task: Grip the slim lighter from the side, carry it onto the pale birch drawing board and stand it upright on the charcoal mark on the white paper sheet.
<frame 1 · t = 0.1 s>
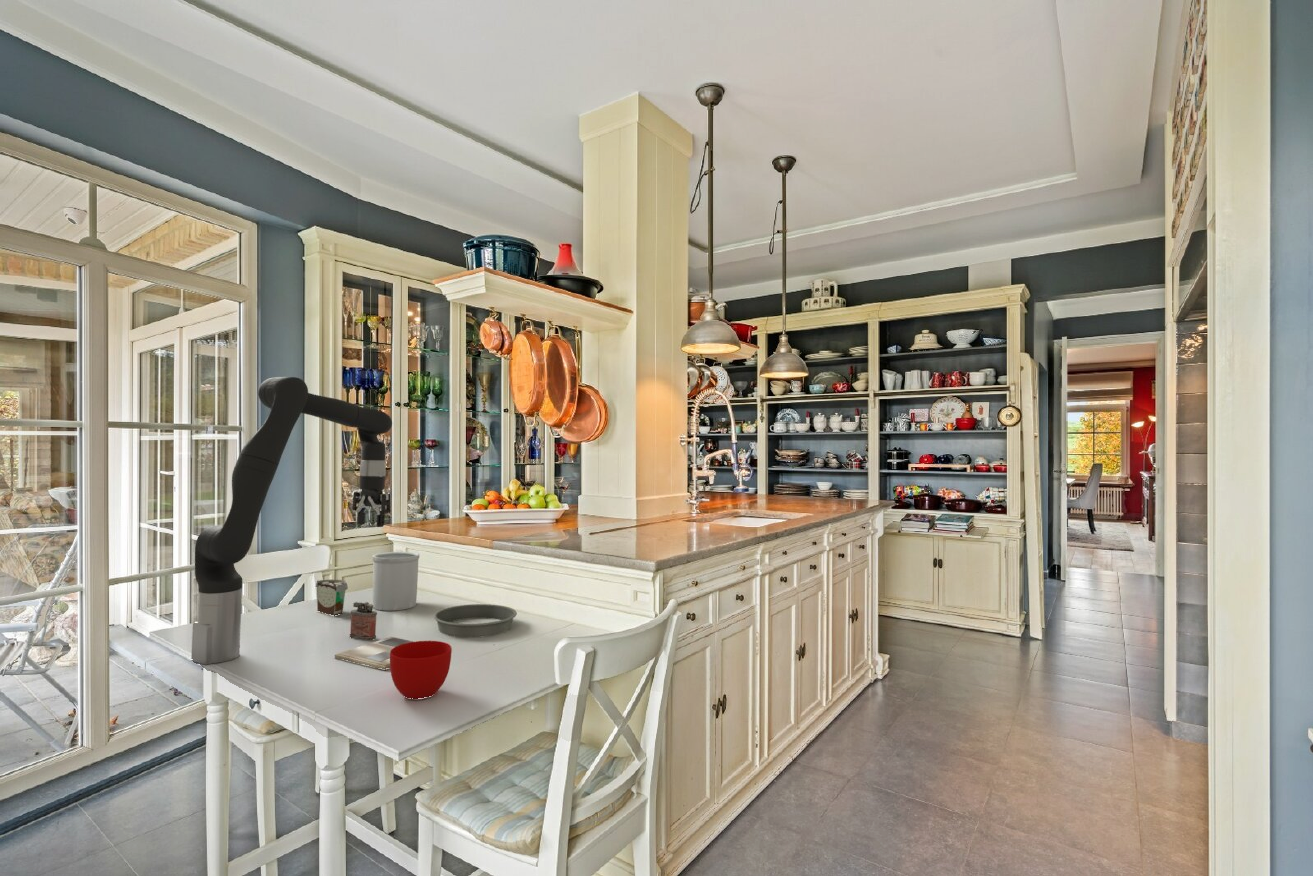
hand: (370, 525, 202), 29 cm above the table, tool pointing down, fingers open, 8 cm apart
drawing board: (388, 654, 168), on the table
food container: (334, 613, 207), on the table
utensil holder: (394, 606, 217), on the table
lighter: (362, 638, 181), on the table
cake pan: (475, 628, 195), on the table
red bowl: (417, 692, 144), on the table
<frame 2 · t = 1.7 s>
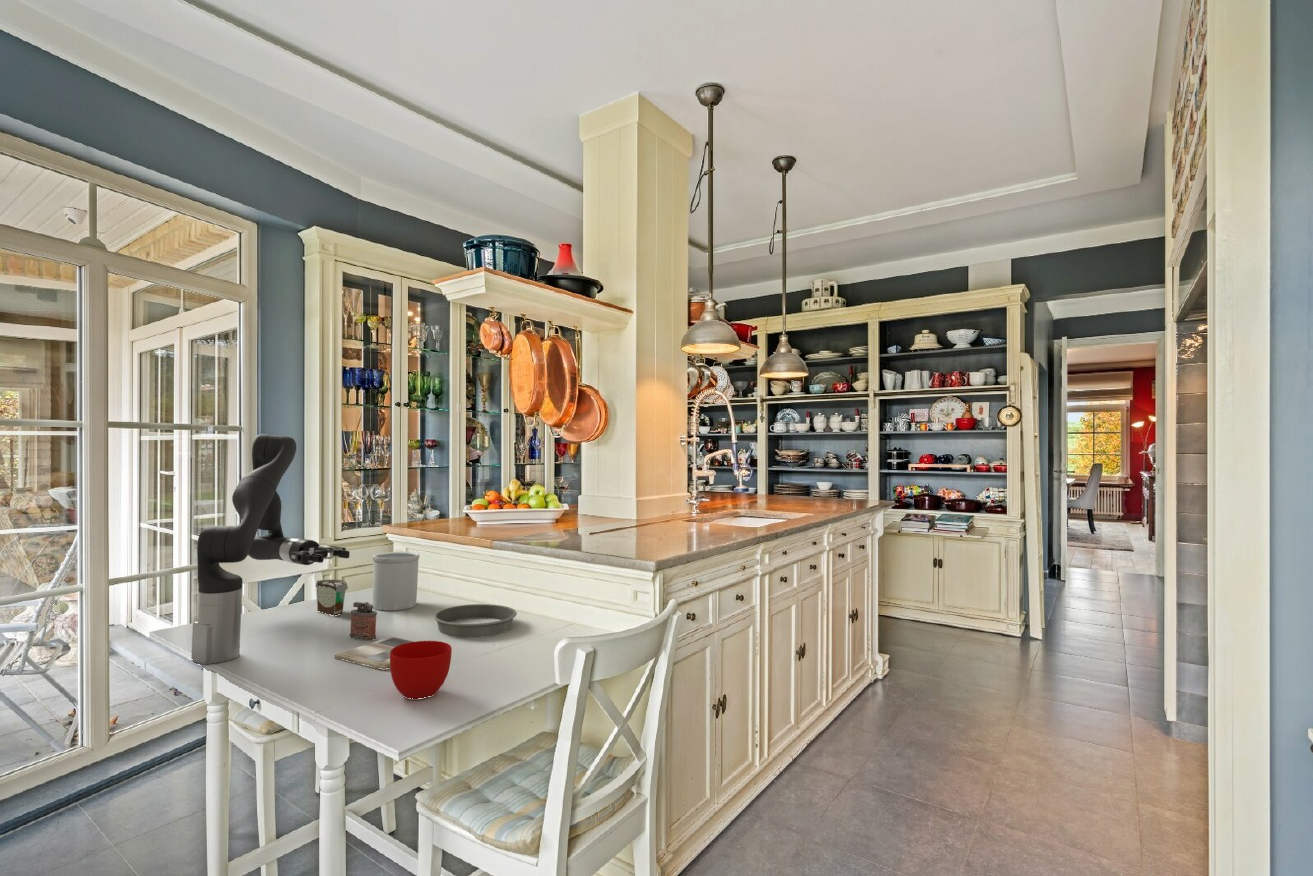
hand: (335, 556, 187), 22 cm above the table, tool horizontal, fingers open, 8 cm apart
nothing on the table moved.
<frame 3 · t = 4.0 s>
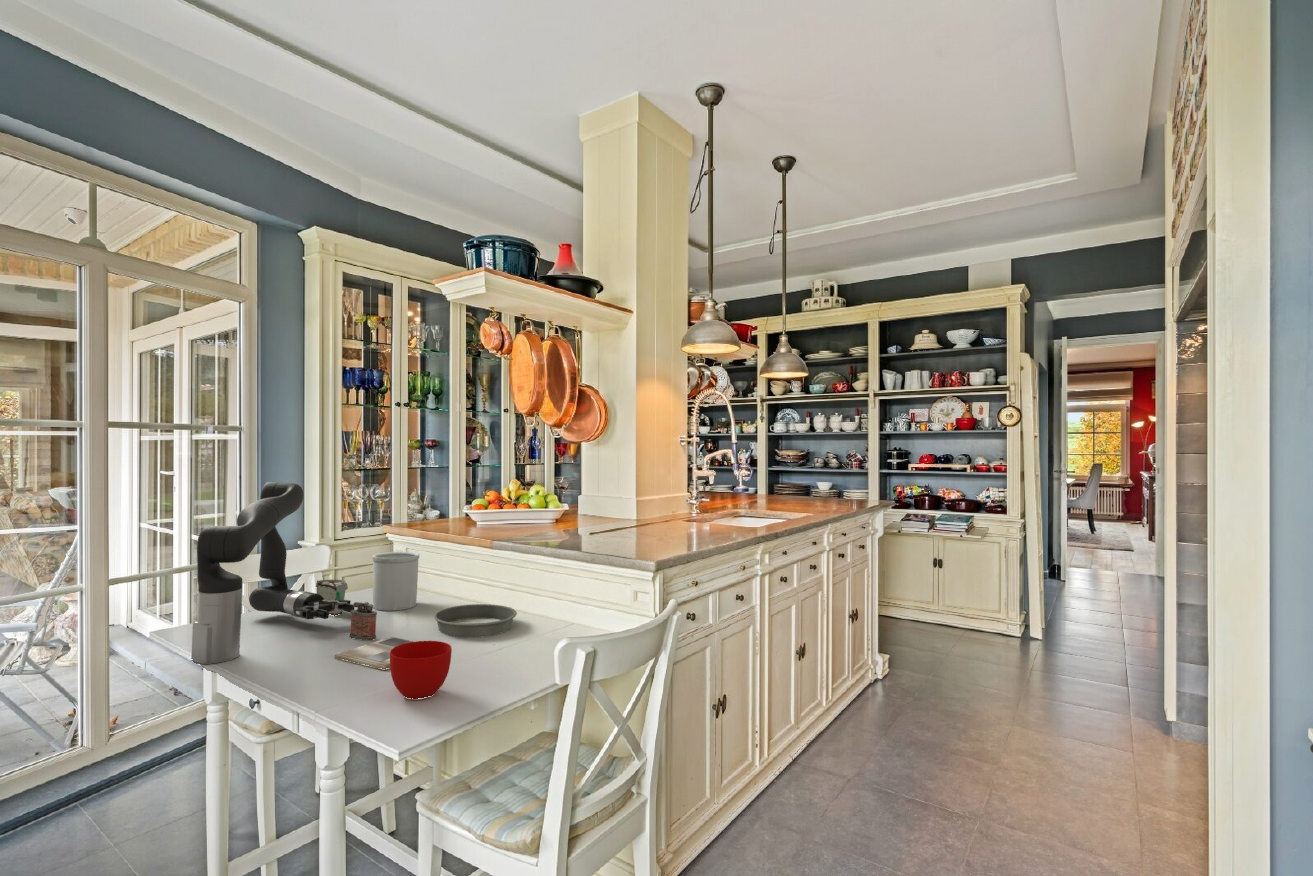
hand: (340, 611, 185), 6 cm above the table, tool horizontal, fingers open, 8 cm apart
nothing on the table moved.
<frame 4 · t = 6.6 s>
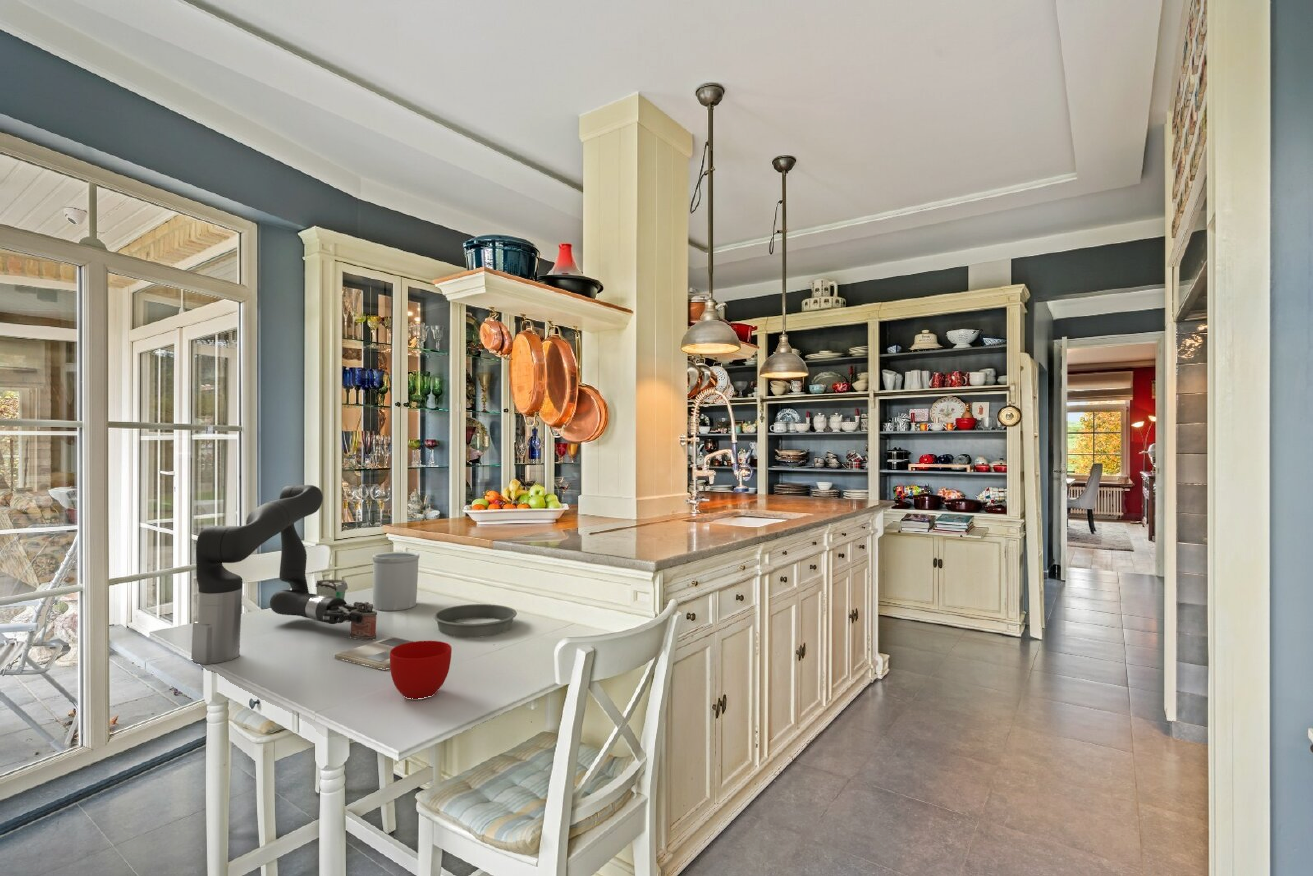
hand: (367, 617, 181), 6 cm above the table, tool horizontal, fingers closed on lighter, 3 cm apart
lighter: (362, 638, 181), on the table, touching gripper
everything else where it was.
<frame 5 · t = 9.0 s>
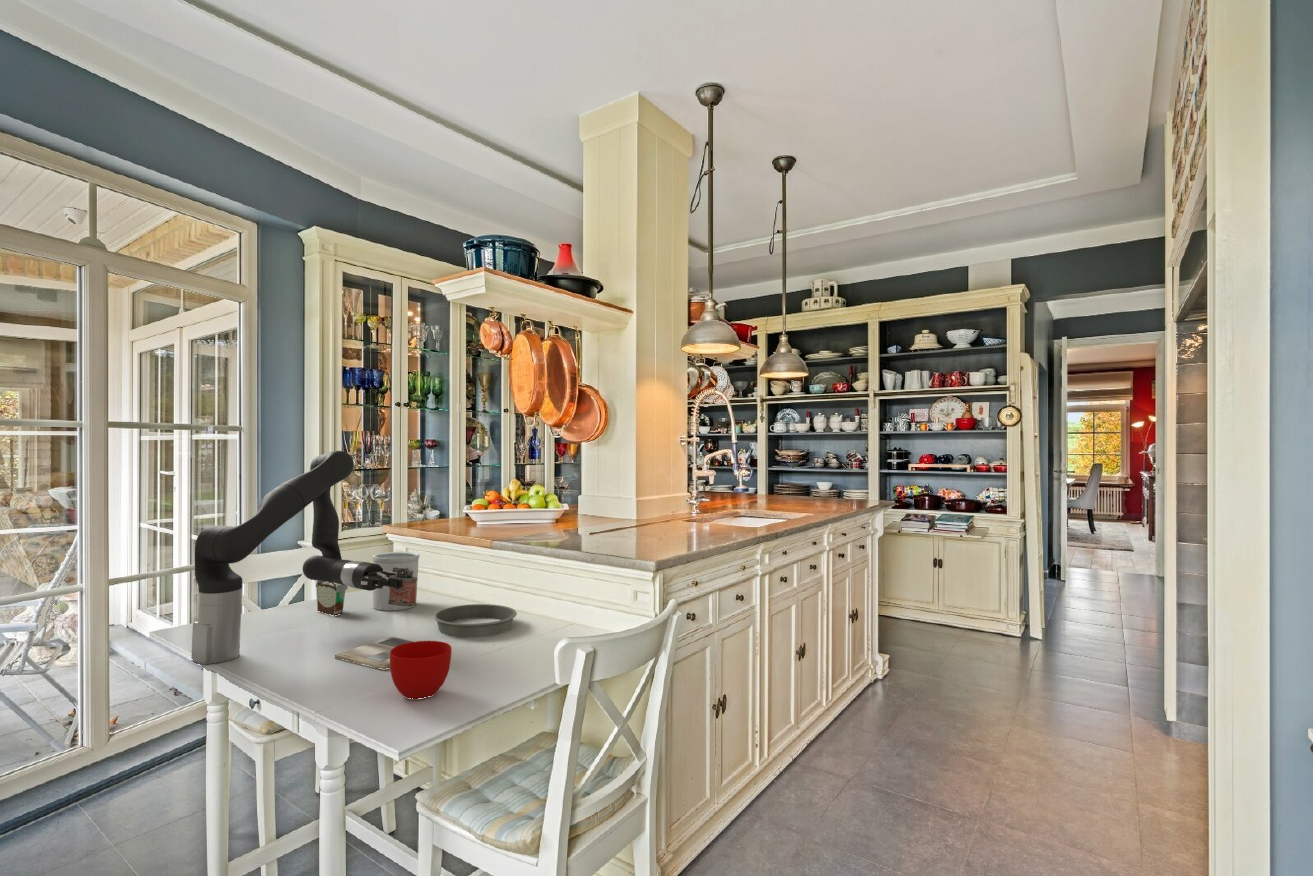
hand: (406, 583, 174), 18 cm above the table, tool horizontal, fingers closed on lighter, 3 cm apart
lighter: (402, 605, 174), point 11 cm above the table, touching gripper
everything else where it was.
when the fingers open (8 cm above the table, at t = 11.7 s): lighter stays where it is, resting on drawing board.
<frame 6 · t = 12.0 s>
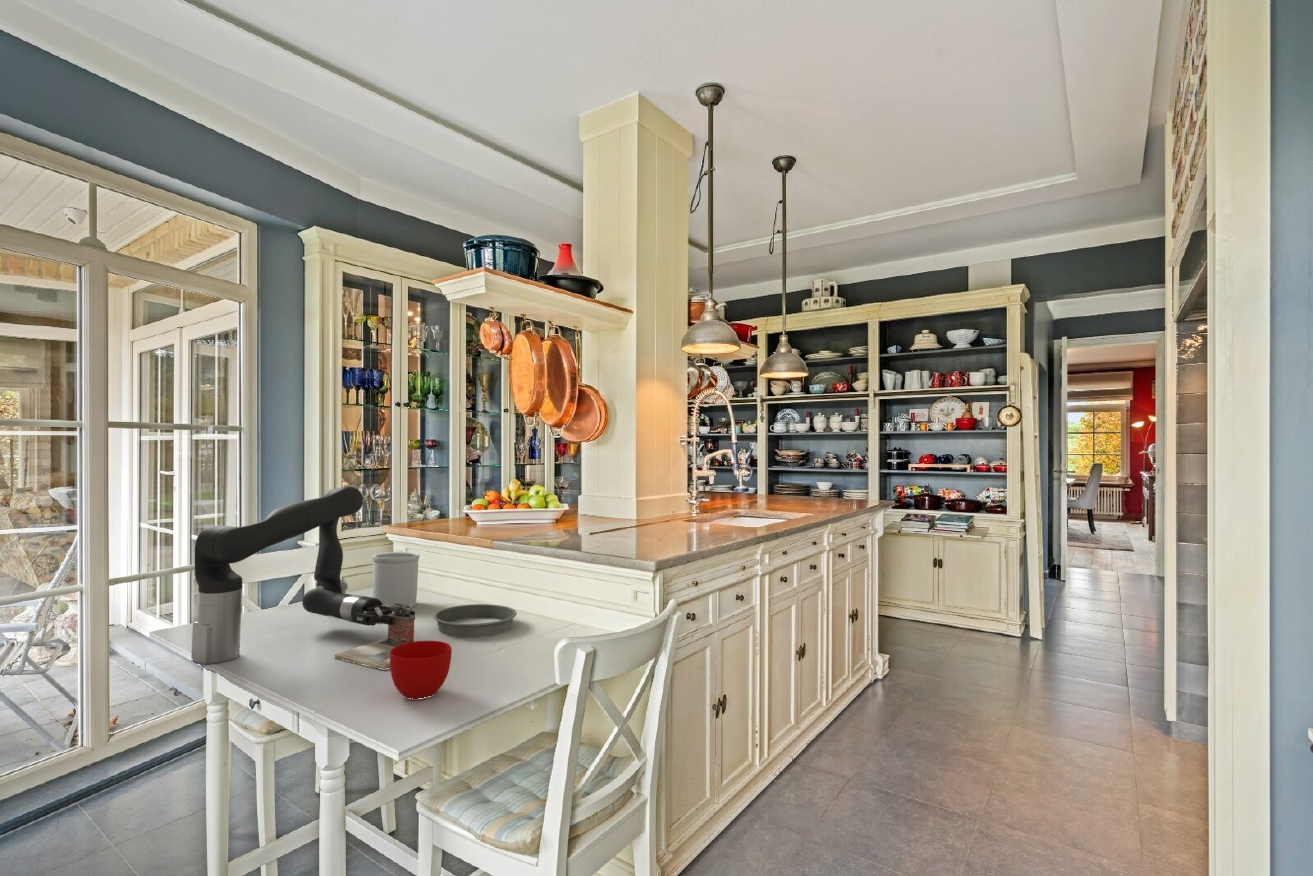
hand: (404, 618, 173), 8 cm above the table, tool horizontal, fingers open, 6 cm apart
lighter: (400, 643, 173), point 1 cm above the table, touching drawing board
everything else where it was.
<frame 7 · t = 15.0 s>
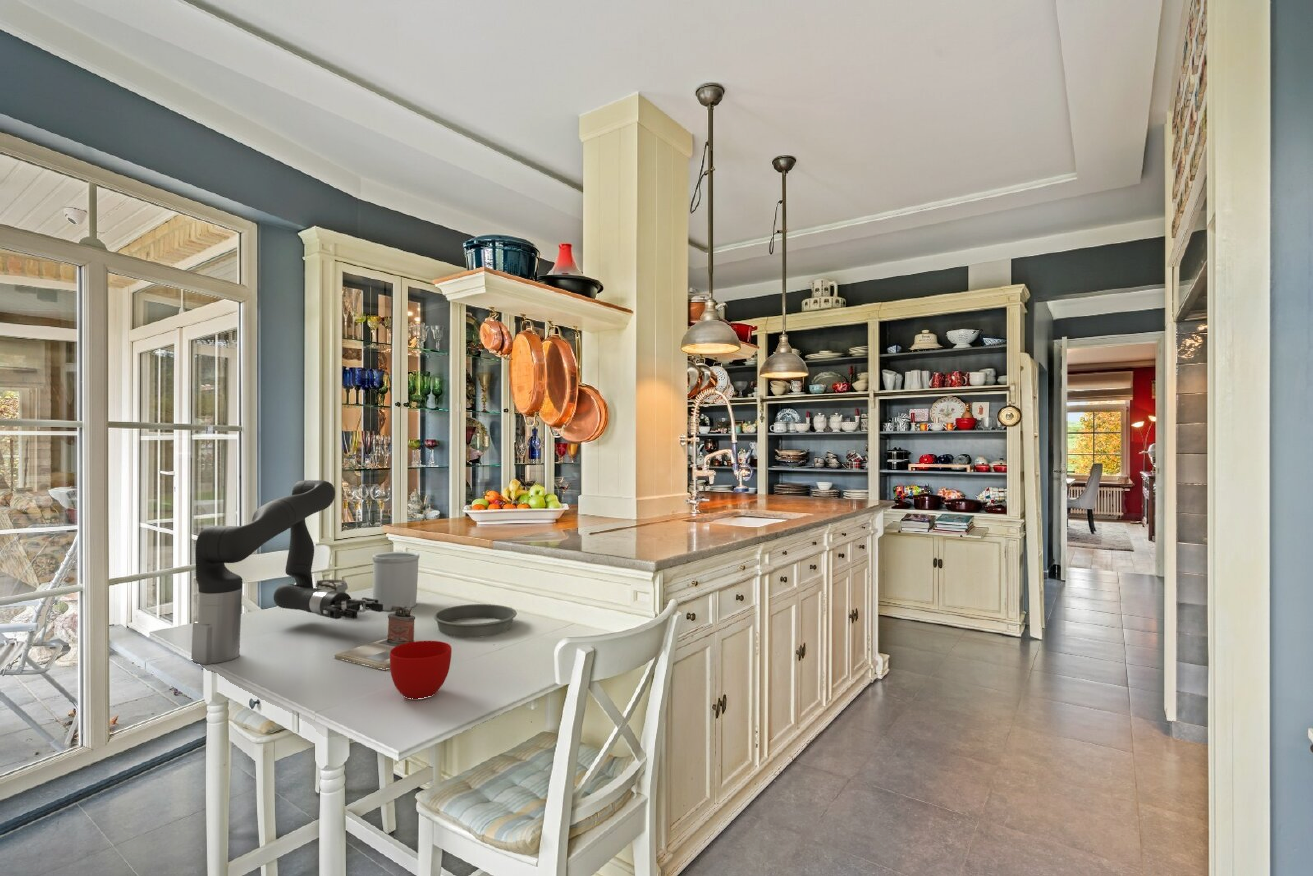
hand: (369, 611, 179), 8 cm above the table, tool horizontal, fingers open, 8 cm apart
nothing on the table moved.
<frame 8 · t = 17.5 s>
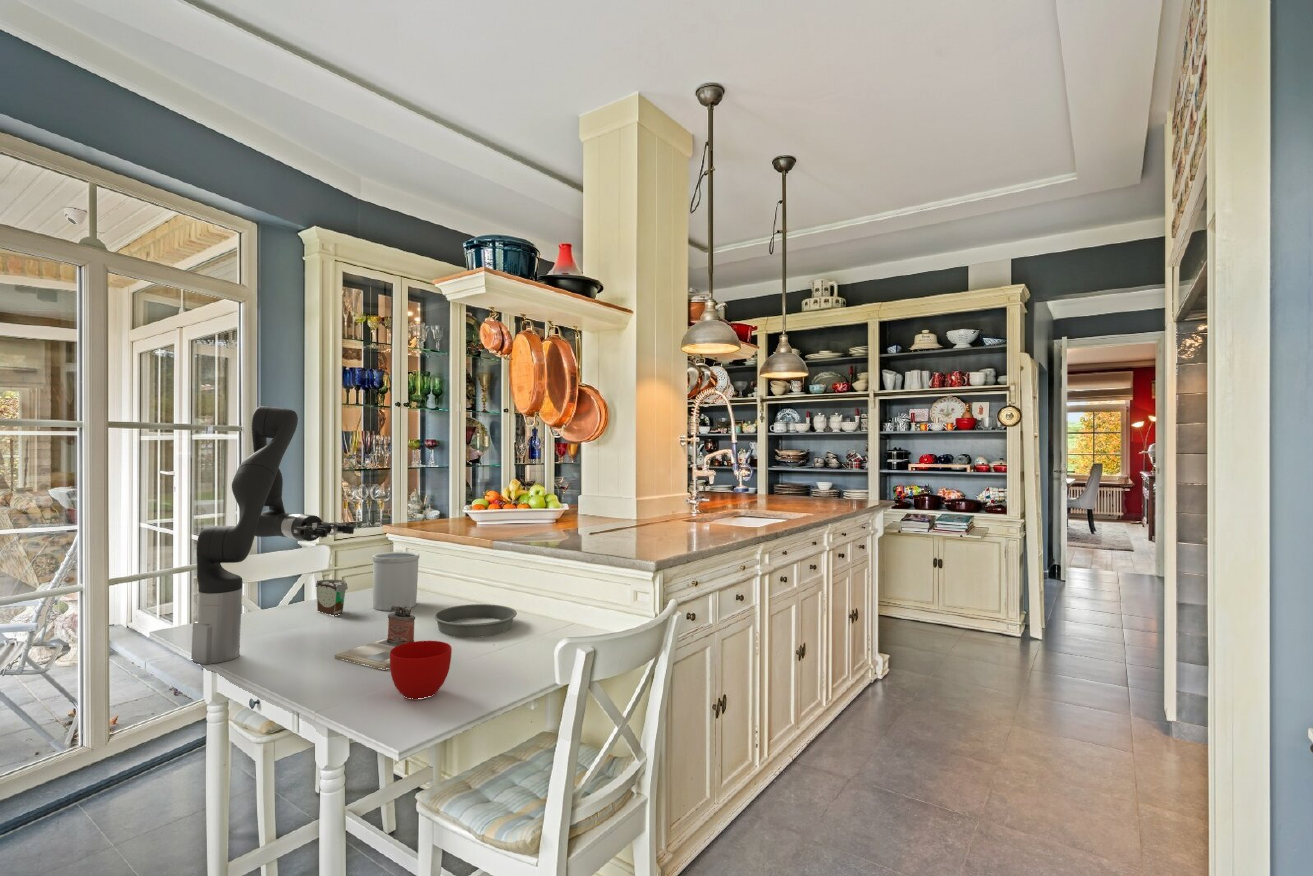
hand: (339, 531, 181), 30 cm above the table, tool horizontal, fingers open, 8 cm apart
nothing on the table moved.
at the end: lighter inside the target area (0.3 cm from its centre), point 1.1 cm above the table; lighter tilted 0°; the gripper is holding nothing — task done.
